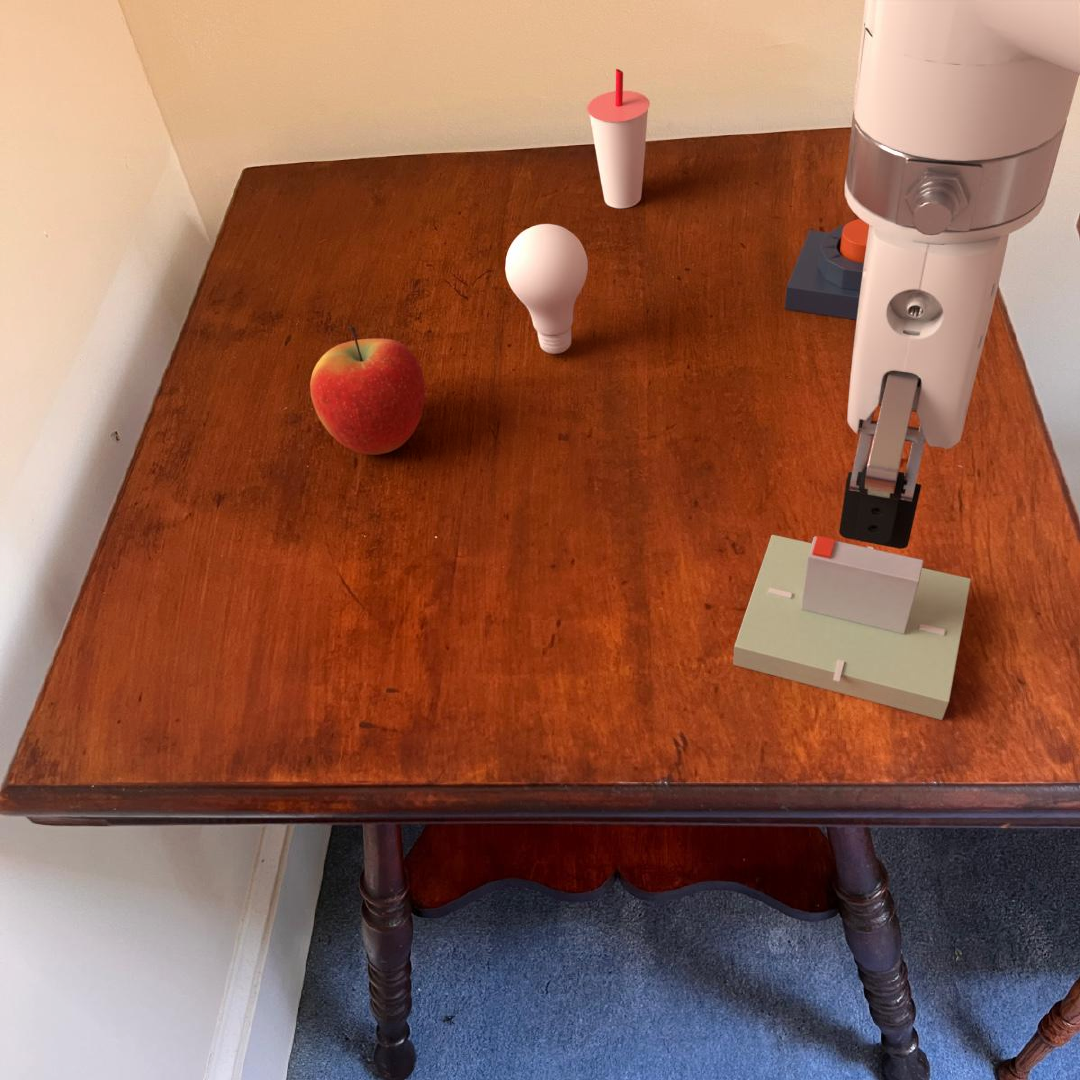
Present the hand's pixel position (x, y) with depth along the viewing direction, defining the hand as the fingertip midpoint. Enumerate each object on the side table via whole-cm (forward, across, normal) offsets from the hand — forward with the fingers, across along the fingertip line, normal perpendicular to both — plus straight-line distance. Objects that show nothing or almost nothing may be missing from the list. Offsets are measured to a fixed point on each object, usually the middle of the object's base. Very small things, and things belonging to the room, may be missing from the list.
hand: (890, 469), depth 53 cm
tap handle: (+11, -1, 0) cm, 11 cm away
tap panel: (+14, -1, 0) cm, 14 cm away
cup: (+13, +42, +29) cm, 52 cm away
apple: (+13, +7, +36) cm, 39 cm away
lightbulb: (+13, +20, +27) cm, 36 cm away
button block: (+13, +33, +6) cm, 36 cm away
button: (+10, +33, +6) cm, 35 cm away
